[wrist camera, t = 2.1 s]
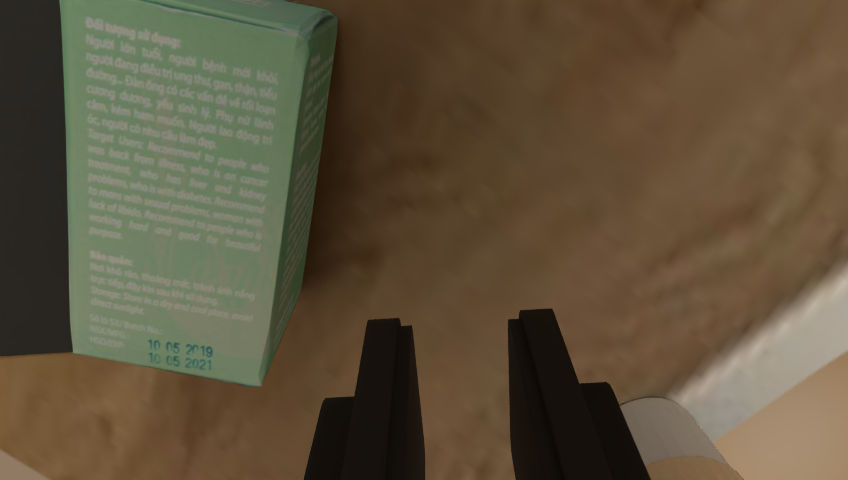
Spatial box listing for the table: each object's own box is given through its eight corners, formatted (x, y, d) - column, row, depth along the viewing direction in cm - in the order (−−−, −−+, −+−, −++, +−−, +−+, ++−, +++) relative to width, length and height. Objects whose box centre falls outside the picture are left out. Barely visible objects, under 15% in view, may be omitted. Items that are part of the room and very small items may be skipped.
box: (344, 6, 24) (310, 23, 17) (303, 294, 29) (265, 394, 23) (156, -36, 23) (44, -34, 16) (151, 267, 29) (66, 361, 22)
